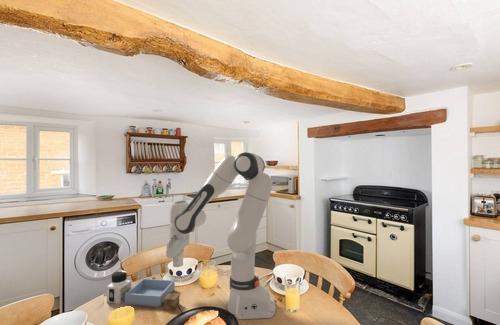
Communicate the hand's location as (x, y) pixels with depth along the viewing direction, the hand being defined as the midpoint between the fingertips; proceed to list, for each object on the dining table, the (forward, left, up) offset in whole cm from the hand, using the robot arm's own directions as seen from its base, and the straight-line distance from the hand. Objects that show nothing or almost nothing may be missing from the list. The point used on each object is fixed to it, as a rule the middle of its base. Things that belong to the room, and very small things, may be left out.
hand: (178, 259), depth 124 cm
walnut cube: (-2, +11, -18) cm, 21 cm away
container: (+27, +8, -18) cm, 33 cm away
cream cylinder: (0, 0, -3) cm, 3 cm away
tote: (+12, +4, -17) cm, 22 cm away
